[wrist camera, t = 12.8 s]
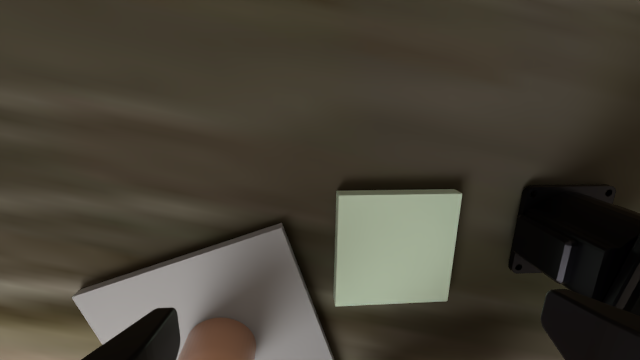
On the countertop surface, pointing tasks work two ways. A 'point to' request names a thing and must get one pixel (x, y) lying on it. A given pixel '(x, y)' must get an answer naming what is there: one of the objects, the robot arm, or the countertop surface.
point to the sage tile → (394, 245)
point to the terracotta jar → (219, 341)
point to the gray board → (219, 296)
